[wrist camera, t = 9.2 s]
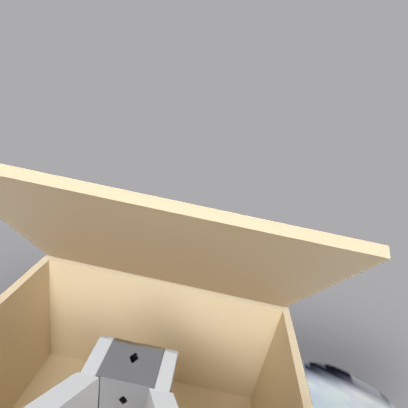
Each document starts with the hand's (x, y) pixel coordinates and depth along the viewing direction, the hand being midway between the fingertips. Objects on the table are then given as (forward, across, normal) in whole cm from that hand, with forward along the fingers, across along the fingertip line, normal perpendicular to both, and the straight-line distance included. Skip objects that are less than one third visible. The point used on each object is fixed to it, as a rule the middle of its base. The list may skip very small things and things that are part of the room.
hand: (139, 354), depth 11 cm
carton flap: (+8, -1, -1) cm, 8 cm away
